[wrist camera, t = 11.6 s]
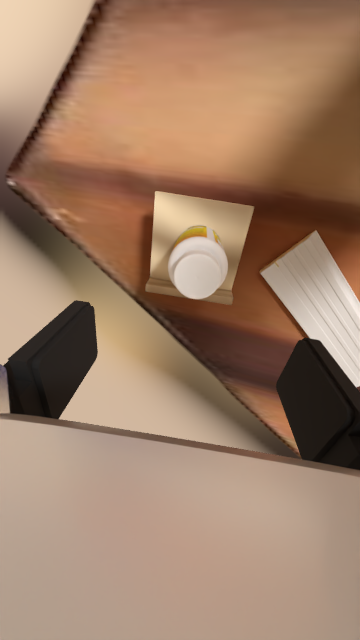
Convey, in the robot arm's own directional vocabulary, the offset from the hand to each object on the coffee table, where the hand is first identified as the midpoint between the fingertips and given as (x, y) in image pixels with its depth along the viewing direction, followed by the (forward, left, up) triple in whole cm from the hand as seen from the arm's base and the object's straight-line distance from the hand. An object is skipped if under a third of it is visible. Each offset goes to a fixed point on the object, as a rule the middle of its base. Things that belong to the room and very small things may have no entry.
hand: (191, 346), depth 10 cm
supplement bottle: (0, 0, -20) cm, 20 cm away
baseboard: (+9, +24, -25) cm, 36 cm away
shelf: (0, 0, -24) cm, 24 cm away
